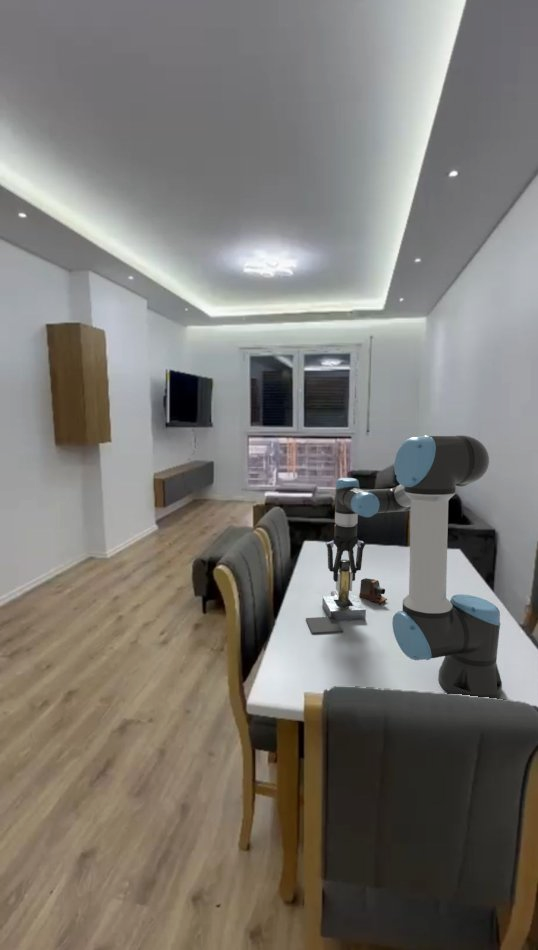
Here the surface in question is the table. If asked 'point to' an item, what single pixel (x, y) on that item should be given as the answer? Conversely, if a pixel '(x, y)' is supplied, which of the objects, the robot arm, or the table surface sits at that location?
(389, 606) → the table surface
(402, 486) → the robot arm
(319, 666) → the table surface
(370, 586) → the electronic device
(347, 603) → the block
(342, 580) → the gold and black cylinder
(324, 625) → the pad
